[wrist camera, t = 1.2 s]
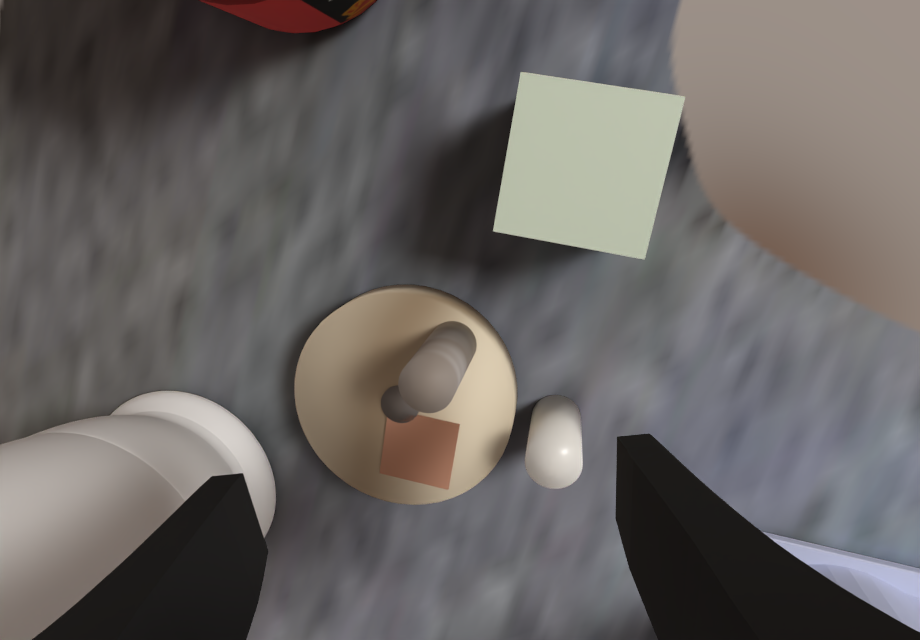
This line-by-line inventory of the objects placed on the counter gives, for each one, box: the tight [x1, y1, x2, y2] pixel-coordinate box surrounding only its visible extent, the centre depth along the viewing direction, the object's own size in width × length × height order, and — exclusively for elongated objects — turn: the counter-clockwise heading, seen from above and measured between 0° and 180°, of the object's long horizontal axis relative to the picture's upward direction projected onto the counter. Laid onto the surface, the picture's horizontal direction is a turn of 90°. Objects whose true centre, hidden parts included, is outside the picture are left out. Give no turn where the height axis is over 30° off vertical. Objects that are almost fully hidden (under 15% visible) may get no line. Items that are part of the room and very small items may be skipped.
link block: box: [493, 72, 685, 259], centre depth 18 cm, size 4×4×5 cm
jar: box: [0, 391, 276, 640], centre depth 19 cm, size 11×10×15 cm
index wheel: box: [294, 285, 517, 505], centre depth 20 cm, size 8×8×6 cm
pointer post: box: [525, 395, 583, 489], centre depth 21 cm, size 2×2×4 cm
